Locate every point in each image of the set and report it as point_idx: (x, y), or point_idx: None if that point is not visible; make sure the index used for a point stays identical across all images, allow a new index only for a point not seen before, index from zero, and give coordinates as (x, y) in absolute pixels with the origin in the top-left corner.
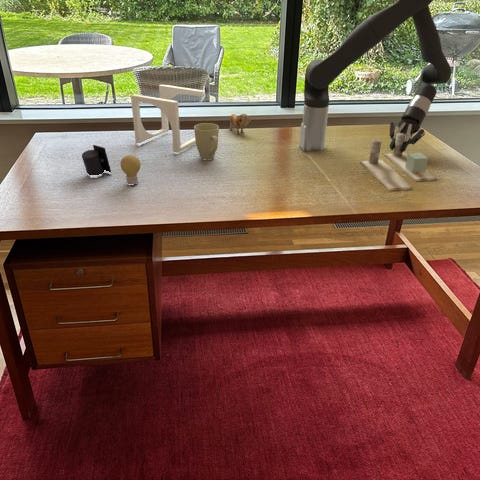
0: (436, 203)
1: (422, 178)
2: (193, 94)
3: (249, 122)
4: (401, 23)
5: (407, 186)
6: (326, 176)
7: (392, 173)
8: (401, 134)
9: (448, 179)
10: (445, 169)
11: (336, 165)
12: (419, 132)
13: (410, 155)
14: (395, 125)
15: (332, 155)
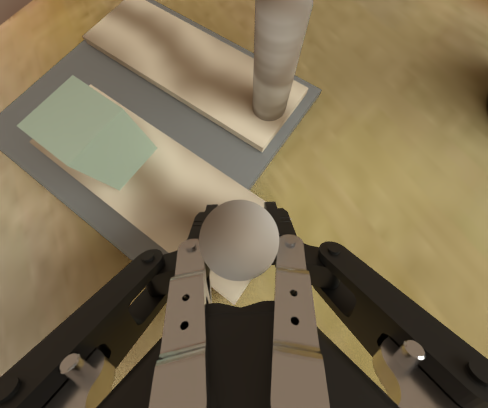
0: (20, 38)
1: None
2: None
3: None
4: None
5: (95, 29)
6: None
7: (169, 73)
8: (237, 240)
9: (15, 202)
10: (42, 291)
11: (353, 54)
12: (60, 346)
13: (104, 97)
14: (414, 387)
15: (430, 107)
